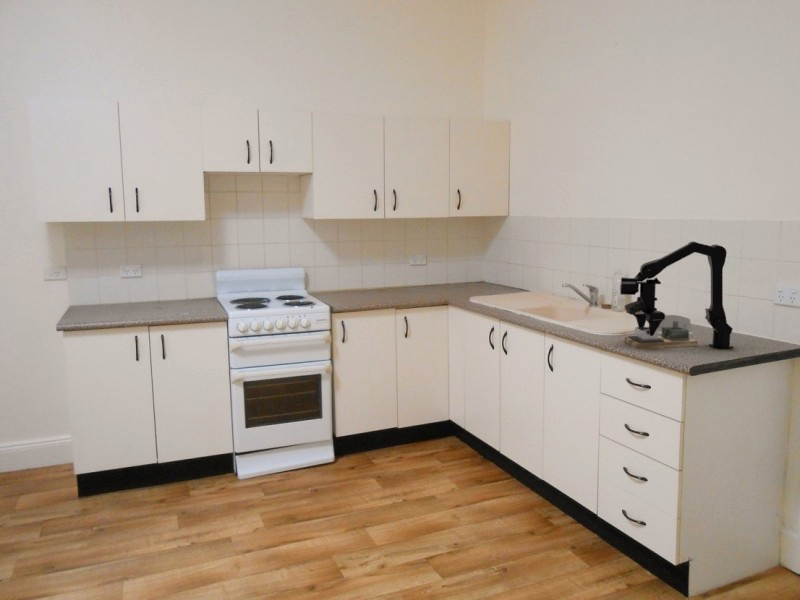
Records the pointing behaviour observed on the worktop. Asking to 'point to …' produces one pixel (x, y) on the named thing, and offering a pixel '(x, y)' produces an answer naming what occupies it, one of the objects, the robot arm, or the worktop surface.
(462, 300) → the worktop surface
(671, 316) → the grey arched bracket
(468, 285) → the worktop surface
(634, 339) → the mat
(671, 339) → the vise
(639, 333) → the collar
